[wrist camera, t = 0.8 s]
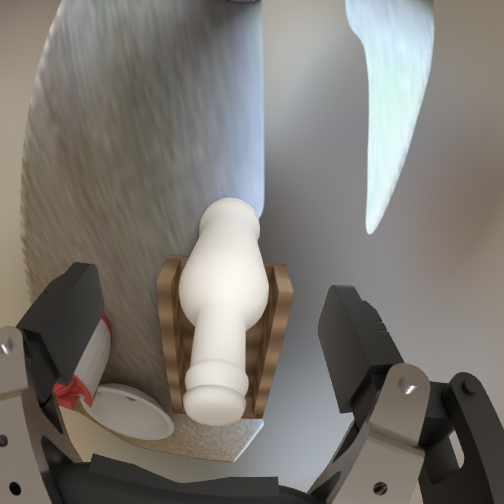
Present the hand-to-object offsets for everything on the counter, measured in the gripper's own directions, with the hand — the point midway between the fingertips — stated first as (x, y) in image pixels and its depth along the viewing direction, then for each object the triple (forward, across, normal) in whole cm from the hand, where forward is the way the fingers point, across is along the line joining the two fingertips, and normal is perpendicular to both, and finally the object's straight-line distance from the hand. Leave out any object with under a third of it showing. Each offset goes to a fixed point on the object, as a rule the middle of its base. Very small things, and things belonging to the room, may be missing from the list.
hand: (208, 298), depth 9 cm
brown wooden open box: (+29, 0, +32) cm, 43 cm away
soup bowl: (+29, +22, +57) cm, 67 cm away
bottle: (+30, 0, +10) cm, 32 cm away
